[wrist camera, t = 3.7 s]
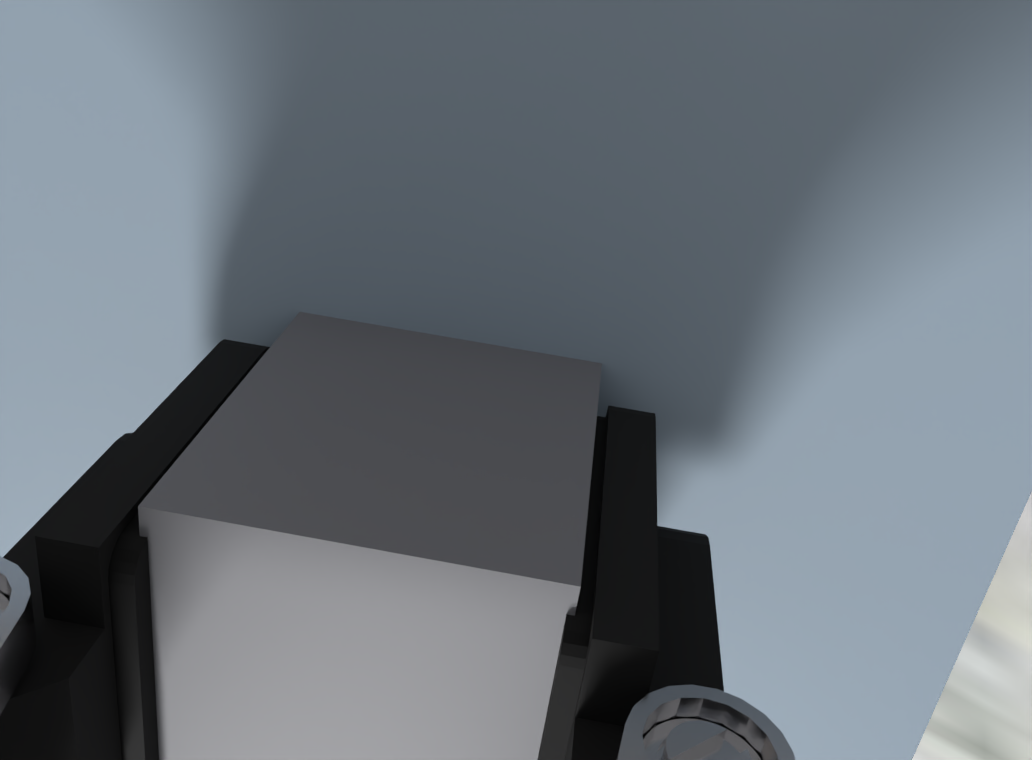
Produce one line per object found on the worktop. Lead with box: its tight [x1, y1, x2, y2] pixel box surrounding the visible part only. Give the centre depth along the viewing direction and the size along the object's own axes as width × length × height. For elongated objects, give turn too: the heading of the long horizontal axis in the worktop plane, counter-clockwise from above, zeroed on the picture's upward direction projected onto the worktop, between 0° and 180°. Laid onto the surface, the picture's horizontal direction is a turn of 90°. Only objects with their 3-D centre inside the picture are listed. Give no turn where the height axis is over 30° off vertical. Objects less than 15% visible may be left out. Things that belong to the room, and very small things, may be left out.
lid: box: [0, 0, 1032, 760], centre depth 11 cm, size 14×14×5 cm
